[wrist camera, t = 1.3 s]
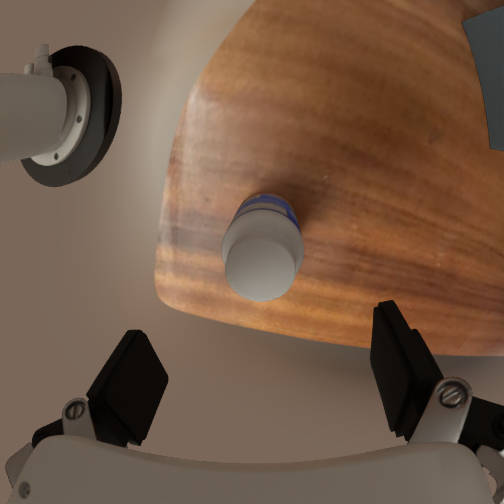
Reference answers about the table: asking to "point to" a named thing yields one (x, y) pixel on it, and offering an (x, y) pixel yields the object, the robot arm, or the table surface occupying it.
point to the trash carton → (490, 67)
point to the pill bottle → (263, 248)
